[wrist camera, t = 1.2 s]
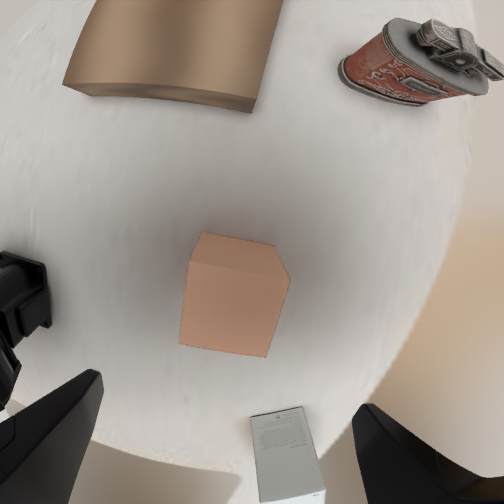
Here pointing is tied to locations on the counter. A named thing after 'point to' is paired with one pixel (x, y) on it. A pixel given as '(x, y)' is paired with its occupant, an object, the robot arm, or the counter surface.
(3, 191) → the counter surface
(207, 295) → the terracotta block
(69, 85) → the plate
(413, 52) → the lighter
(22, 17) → the counter surface
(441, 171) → the counter surface
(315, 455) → the small box
